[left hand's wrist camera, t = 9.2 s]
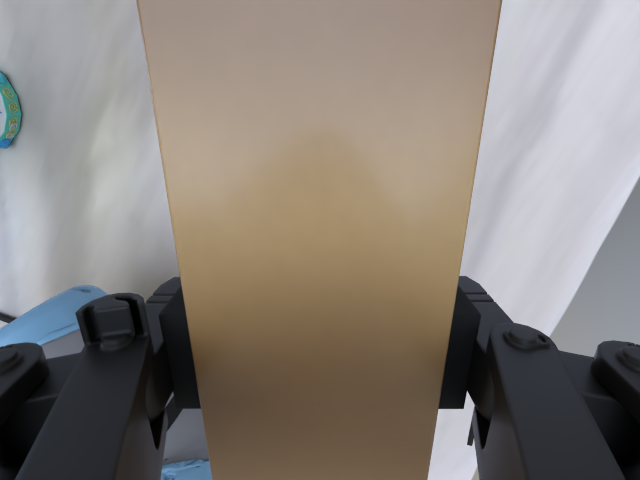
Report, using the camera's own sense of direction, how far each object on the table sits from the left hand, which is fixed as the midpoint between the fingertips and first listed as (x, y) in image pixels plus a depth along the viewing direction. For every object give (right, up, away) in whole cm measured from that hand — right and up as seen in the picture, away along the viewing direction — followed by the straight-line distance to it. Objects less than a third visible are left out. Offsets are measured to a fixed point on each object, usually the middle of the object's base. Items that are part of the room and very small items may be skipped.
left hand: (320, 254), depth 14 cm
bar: (0, +33, -12) cm, 35 cm away
